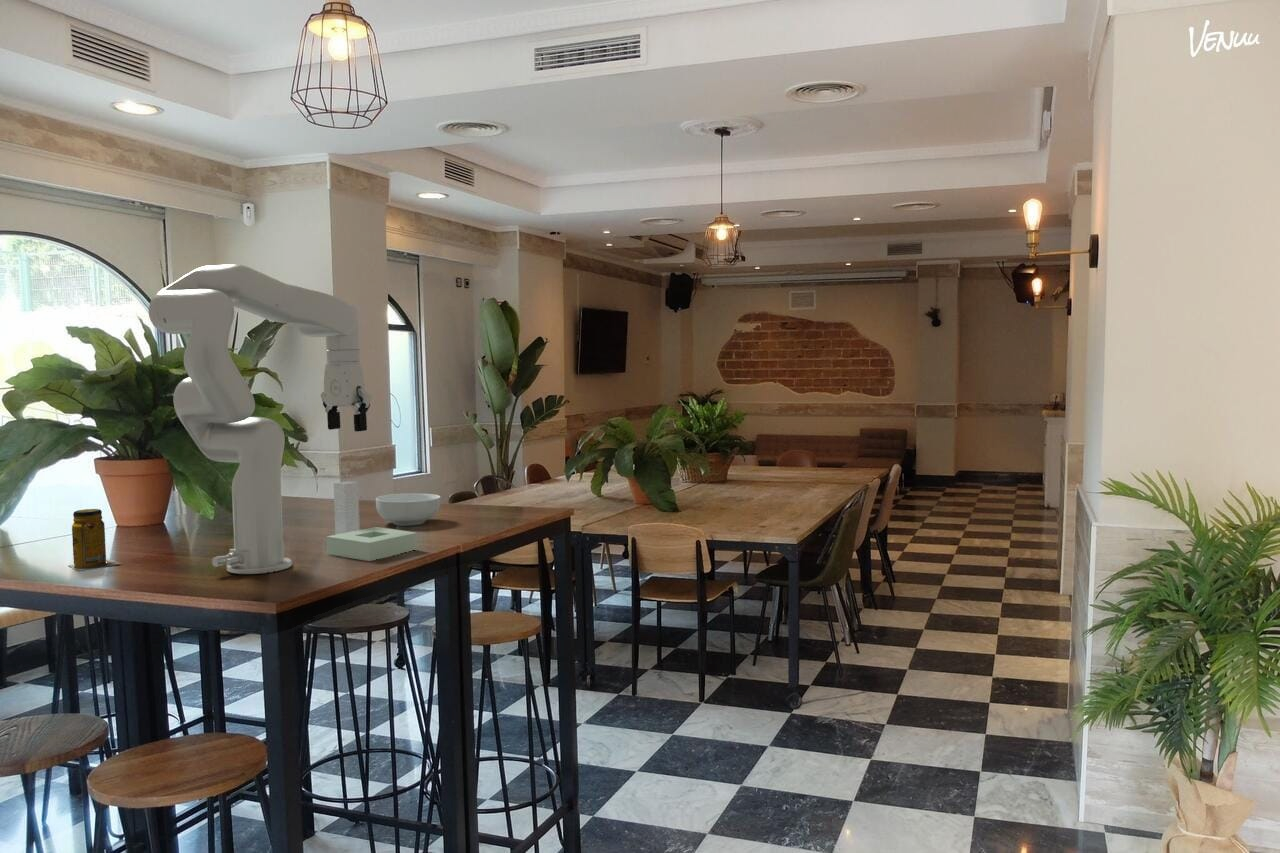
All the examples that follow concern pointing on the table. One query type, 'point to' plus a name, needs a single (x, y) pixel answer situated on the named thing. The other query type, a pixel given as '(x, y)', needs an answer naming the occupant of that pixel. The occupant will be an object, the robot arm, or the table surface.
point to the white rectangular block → (346, 507)
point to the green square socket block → (371, 543)
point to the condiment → (89, 540)
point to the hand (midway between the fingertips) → (347, 429)
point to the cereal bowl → (408, 507)
